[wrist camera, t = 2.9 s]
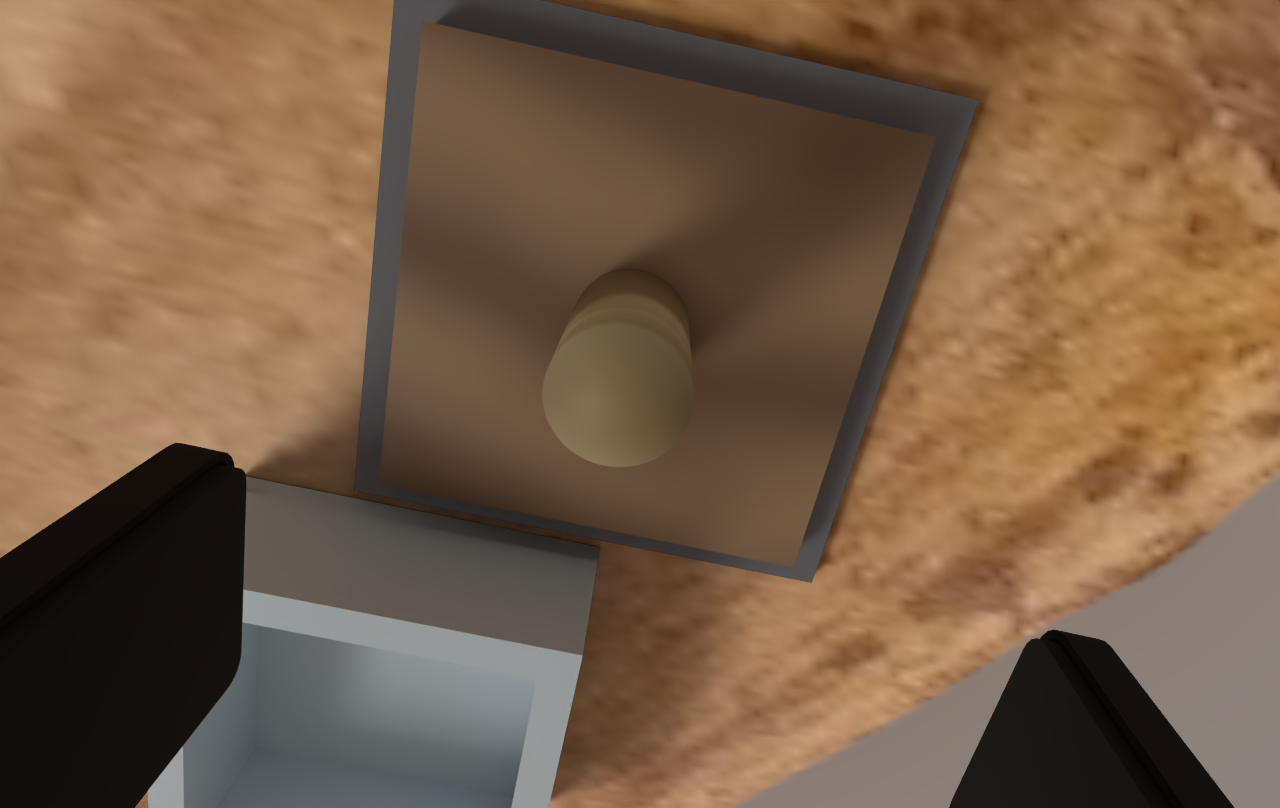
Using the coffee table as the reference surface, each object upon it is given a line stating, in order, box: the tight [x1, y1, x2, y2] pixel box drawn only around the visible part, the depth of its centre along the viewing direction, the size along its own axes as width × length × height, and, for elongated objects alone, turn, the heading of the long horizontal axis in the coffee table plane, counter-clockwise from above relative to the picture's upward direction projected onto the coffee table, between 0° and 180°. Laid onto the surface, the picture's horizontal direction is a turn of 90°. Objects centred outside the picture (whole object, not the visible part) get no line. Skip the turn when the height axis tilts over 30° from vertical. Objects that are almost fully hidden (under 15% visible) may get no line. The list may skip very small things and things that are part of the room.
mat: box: [354, 0, 979, 583], centre depth 22 cm, size 14×14×1 cm
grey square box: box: [148, 477, 600, 808], centre depth 24 cm, size 11×11×5 cm
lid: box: [379, 21, 936, 567], centre depth 19 cm, size 12×12×6 cm
